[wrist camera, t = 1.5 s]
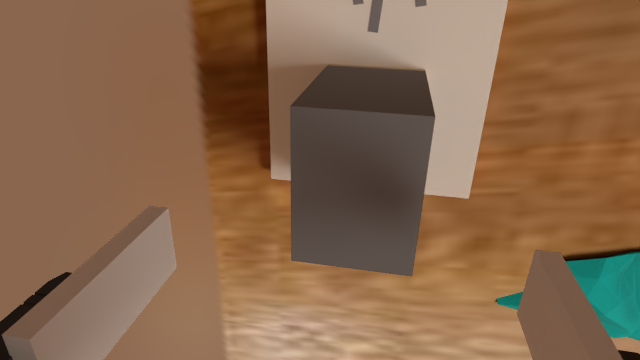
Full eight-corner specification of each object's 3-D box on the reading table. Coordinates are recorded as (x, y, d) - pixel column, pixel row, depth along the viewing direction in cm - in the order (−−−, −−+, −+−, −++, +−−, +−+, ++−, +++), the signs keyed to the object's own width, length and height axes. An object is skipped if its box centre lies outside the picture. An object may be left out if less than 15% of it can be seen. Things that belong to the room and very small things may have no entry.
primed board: (266, -202, 23) (259, -212, 21) (545, -214, 20) (553, -225, 19) (275, 171, 32) (270, 178, 31) (466, 190, 30) (468, 198, 29)
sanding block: (328, 63, 27) (290, 106, 18) (425, 69, 26) (435, 116, 17) (324, 177, 30) (291, 260, 21) (410, 186, 29) (412, 276, 20)
